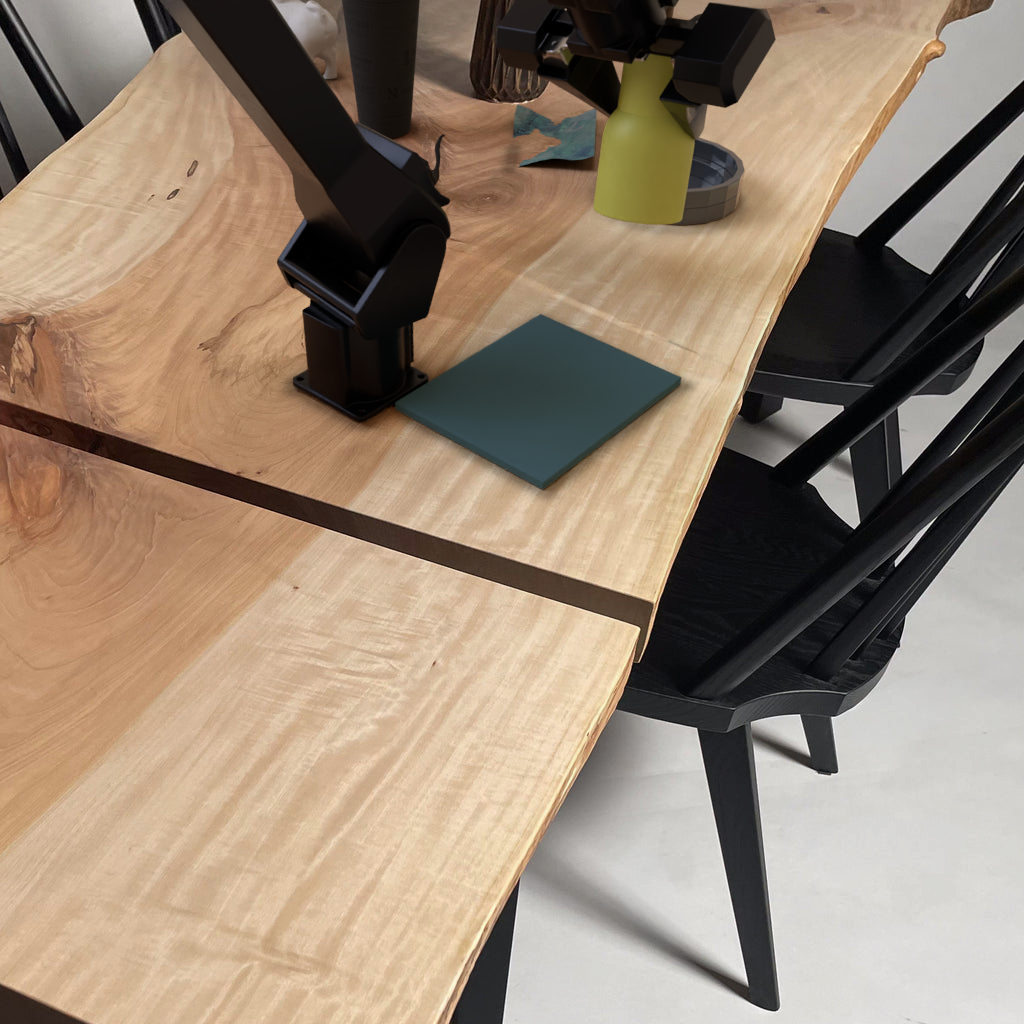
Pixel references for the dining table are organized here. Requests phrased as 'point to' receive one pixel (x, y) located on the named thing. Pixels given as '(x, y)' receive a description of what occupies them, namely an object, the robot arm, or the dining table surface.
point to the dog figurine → (312, 30)
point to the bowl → (712, 183)
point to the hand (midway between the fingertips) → (660, 126)
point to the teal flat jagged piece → (559, 134)
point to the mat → (539, 398)
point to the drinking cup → (383, 61)
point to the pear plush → (644, 150)
